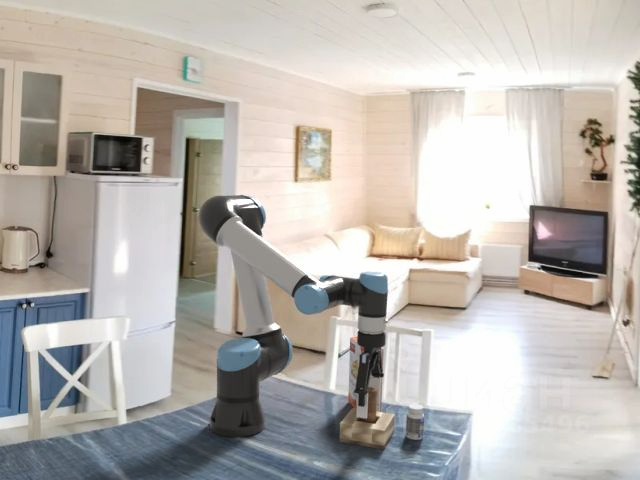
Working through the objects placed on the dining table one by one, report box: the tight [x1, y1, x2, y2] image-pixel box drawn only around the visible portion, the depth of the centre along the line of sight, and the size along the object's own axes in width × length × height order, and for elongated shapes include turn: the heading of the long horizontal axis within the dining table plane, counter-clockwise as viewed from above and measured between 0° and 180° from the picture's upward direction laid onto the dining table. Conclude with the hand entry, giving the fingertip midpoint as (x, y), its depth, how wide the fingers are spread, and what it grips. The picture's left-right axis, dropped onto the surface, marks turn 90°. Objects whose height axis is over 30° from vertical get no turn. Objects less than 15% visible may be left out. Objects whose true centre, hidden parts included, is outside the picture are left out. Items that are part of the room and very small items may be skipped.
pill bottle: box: [405, 403, 425, 441], centre depth 161 cm, size 5×5×8 cm
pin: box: [361, 387, 378, 424], centre depth 160 cm, size 4×4×12 cm
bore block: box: [338, 407, 396, 450], centre depth 160 cm, size 12×12×5 cm
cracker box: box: [347, 336, 384, 412], centre depth 178 cm, size 14×6×21 cm, turn 16°
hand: (368, 408), depth 160 cm, fingers open, 13 cm apart
